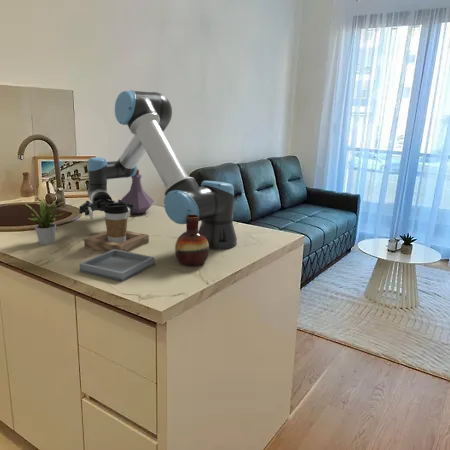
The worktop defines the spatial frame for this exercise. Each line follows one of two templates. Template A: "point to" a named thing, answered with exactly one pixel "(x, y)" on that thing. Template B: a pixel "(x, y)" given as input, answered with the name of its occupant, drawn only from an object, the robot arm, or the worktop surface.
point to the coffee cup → (116, 221)
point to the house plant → (45, 223)
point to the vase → (192, 244)
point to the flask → (138, 196)
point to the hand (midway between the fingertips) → (110, 214)
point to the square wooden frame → (103, 244)
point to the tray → (117, 264)
